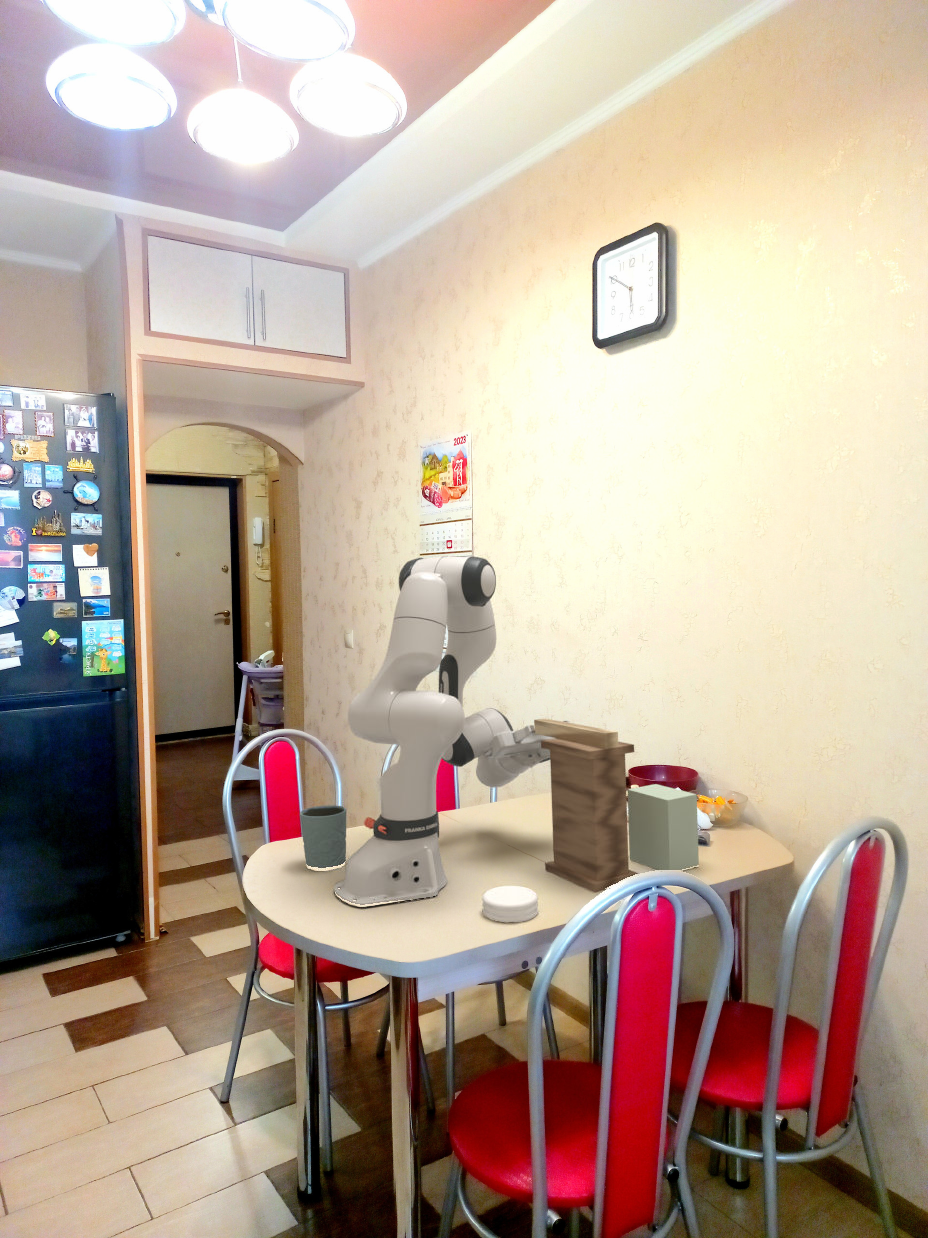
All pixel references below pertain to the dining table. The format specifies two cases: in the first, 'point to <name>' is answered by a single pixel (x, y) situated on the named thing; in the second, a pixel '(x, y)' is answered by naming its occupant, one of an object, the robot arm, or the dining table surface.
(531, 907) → the coaster
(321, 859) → the grey-green cup
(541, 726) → the maple rod
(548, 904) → the dining table surface
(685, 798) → the sage-green block
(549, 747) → the walnut pedestal
